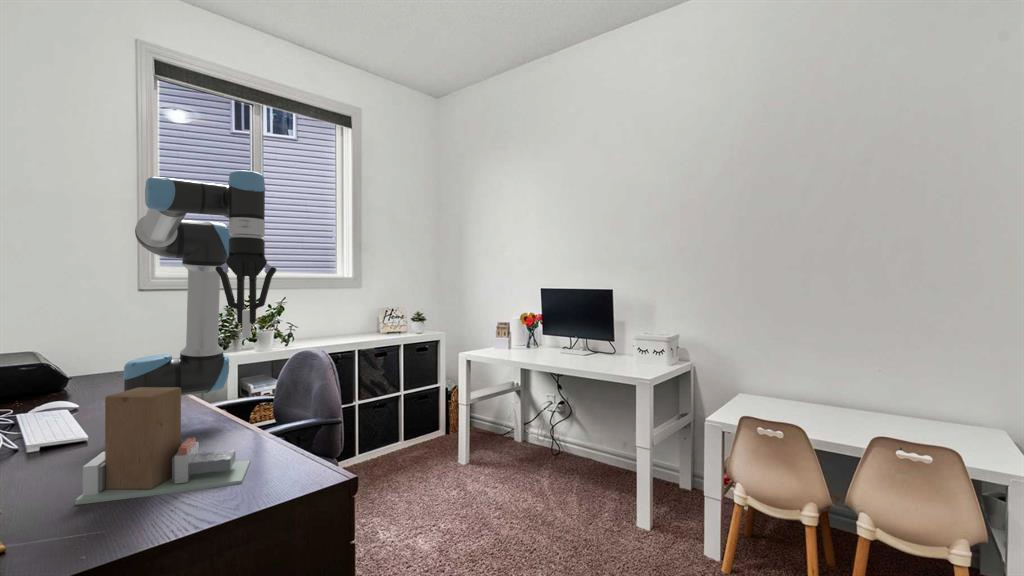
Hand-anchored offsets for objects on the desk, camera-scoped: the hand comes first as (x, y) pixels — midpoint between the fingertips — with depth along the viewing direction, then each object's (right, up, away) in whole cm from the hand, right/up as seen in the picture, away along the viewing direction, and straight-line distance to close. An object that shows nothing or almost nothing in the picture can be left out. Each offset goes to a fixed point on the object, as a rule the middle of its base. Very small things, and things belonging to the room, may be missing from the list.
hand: (246, 337), depth 119 cm
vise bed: (-14, -32, -5) cm, 36 cm away
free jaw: (-8, -31, -3) cm, 32 cm away
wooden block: (-19, -32, -7) cm, 38 cm away
